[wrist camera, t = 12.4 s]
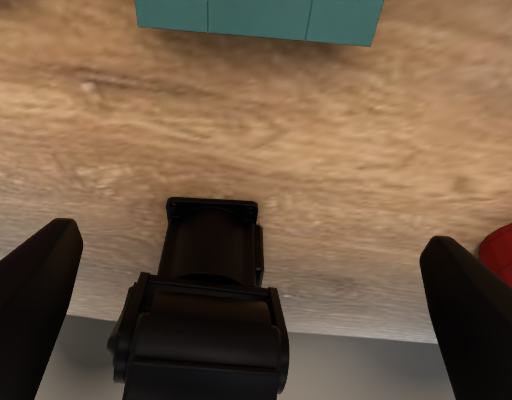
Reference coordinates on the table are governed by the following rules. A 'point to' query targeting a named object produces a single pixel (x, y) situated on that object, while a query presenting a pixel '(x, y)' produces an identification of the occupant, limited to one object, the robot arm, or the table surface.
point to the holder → (268, 18)
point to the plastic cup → (498, 253)
